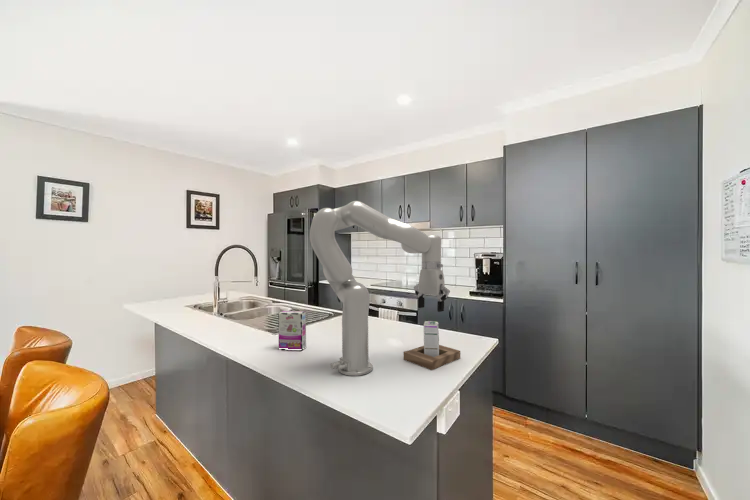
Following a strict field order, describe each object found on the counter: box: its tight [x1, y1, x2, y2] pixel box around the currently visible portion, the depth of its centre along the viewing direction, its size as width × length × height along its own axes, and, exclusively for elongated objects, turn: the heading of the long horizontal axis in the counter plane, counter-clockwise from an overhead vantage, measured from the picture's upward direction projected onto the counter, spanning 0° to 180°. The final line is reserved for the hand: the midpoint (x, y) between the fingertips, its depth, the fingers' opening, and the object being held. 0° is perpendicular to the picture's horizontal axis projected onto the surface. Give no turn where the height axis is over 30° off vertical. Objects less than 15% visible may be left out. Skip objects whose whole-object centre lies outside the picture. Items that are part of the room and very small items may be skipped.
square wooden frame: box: [403, 344, 461, 371], centre depth 118 cm, size 18×14×3 cm
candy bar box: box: [277, 310, 307, 349], centre depth 132 cm, size 11×5×16 cm, turn 80°
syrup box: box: [423, 320, 440, 357], centre depth 118 cm, size 6×6×14 cm
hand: (430, 309), depth 118 cm, fingers open, 9 cm apart
